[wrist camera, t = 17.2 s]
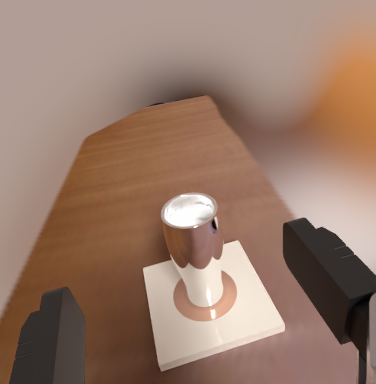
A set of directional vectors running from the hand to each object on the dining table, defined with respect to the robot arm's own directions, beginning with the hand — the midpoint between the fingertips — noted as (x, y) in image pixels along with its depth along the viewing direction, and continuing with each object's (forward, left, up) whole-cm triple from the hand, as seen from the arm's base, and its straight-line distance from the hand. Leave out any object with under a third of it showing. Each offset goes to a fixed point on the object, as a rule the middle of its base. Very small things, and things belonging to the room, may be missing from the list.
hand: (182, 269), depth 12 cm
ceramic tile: (+3, +21, -30) cm, 37 cm away
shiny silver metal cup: (+3, +21, -29) cm, 36 cm away
